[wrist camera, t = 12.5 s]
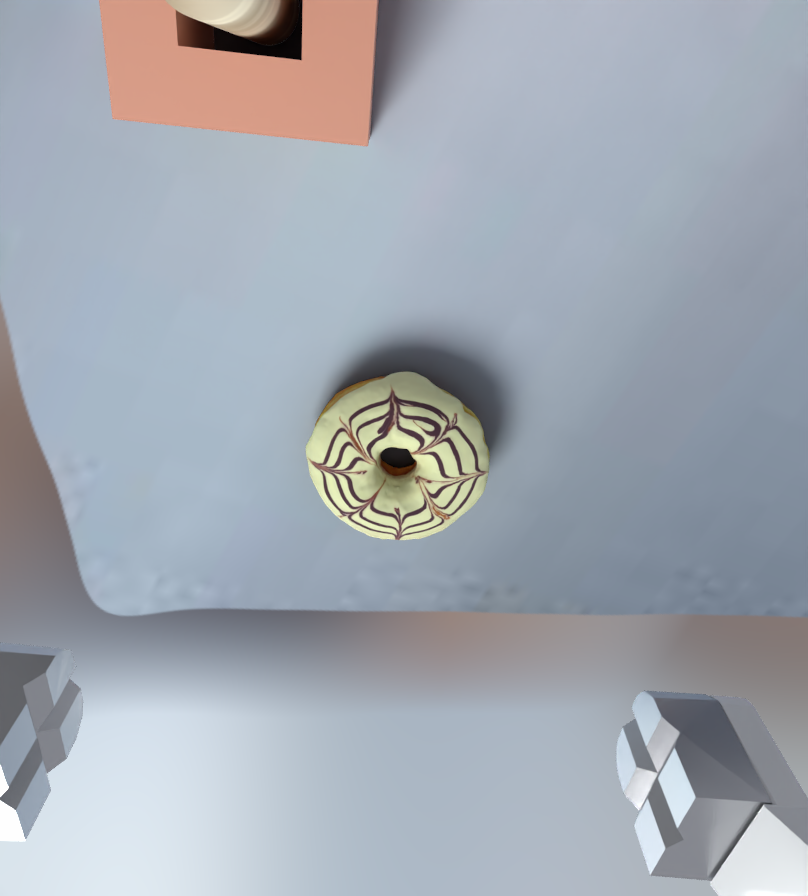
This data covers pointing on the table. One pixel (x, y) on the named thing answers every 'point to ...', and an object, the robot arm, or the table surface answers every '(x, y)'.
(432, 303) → the table surface
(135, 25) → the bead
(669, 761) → the robot arm
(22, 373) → the table surface
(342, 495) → the decorated donut
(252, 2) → the rounded cream peg
